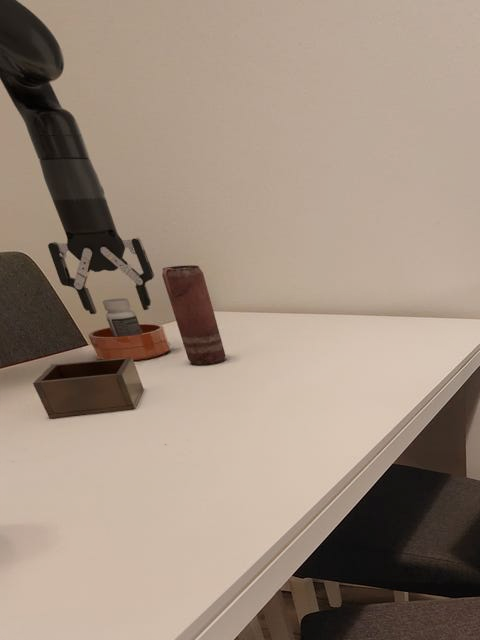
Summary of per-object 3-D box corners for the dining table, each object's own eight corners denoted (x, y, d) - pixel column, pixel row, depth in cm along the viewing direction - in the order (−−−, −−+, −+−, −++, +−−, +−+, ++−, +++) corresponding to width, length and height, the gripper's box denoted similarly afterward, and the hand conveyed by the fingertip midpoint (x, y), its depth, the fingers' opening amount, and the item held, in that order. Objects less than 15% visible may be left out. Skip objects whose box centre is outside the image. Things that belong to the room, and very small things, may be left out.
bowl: (92, 365, 101) (82, 340, 99) (104, 350, 111) (95, 327, 108) (167, 358, 104) (159, 333, 102) (173, 344, 113) (165, 321, 111)
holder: (49, 418, 78) (32, 383, 76) (66, 397, 86) (51, 364, 84) (134, 408, 81) (121, 374, 78) (143, 389, 89) (132, 356, 86)
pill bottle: (154, 350, 108) (136, 298, 103) (132, 356, 105) (113, 302, 100) (135, 348, 110) (117, 297, 104) (114, 354, 106) (94, 301, 101)
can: (180, 364, 101) (150, 268, 92) (207, 355, 105) (180, 263, 96) (208, 367, 99) (179, 269, 90) (233, 358, 103) (208, 264, 95)
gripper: (21, 198, 89) (71, 318, 99) (123, 194, 92) (161, 311, 102) (34, 198, 94) (80, 311, 104) (130, 194, 97) (165, 304, 108)
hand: (120, 311), depth 103 cm, fingers open, 8 cm apart
